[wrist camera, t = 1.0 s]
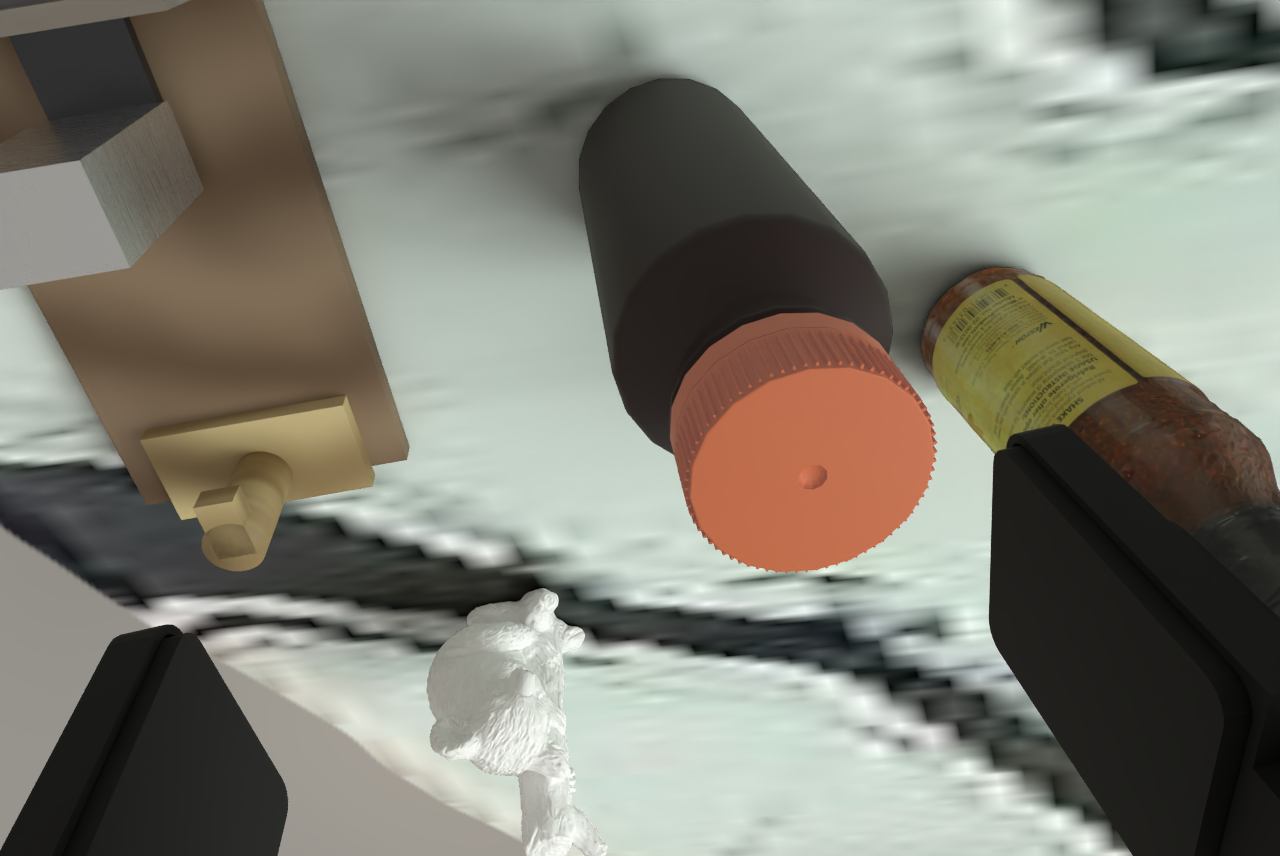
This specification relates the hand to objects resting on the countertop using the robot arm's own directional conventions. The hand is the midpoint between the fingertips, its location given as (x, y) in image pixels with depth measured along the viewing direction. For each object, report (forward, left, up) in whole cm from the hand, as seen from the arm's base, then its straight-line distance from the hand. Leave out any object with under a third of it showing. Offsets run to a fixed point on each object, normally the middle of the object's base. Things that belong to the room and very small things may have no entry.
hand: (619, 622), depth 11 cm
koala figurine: (+24, -6, -26) cm, 36 cm away
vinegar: (+3, +4, -26) cm, 27 cm away
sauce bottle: (+12, +17, -26) cm, 33 cm away
